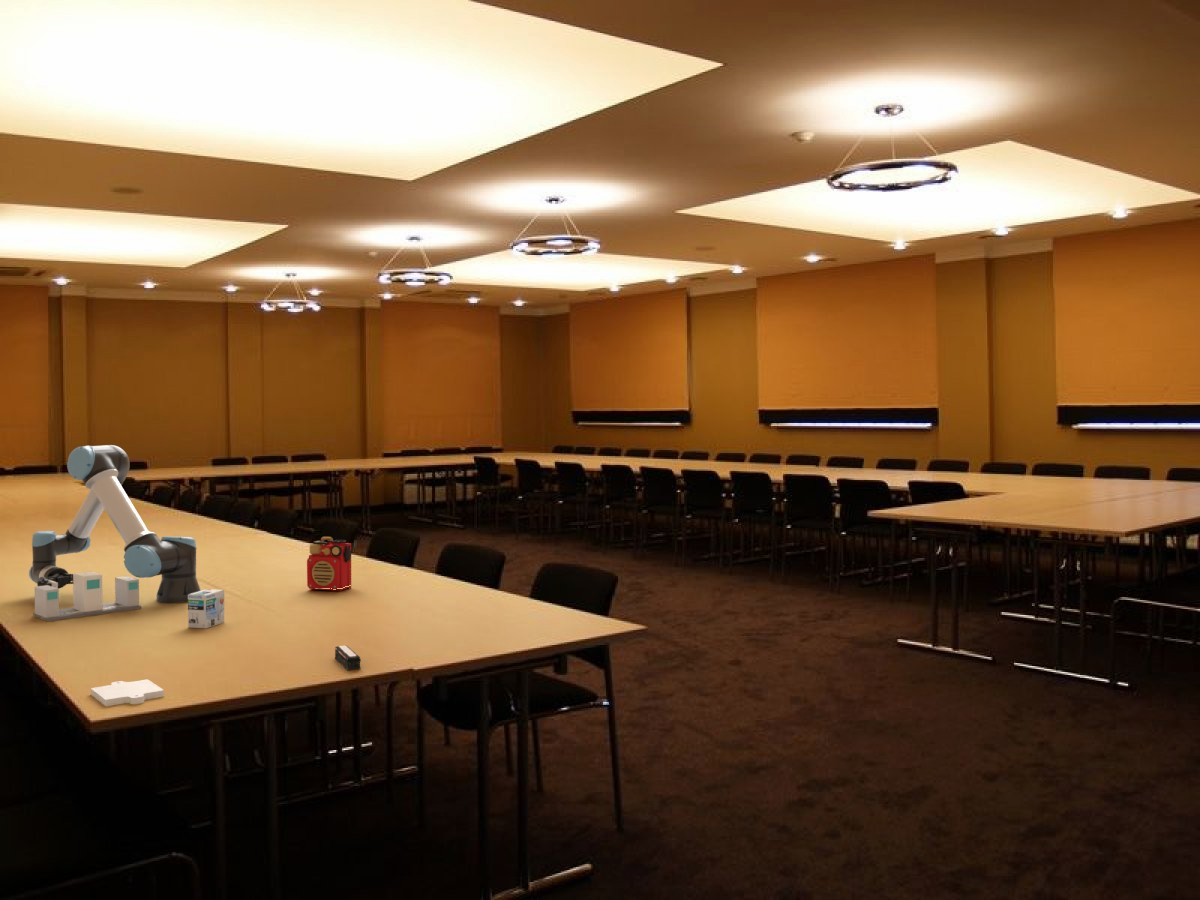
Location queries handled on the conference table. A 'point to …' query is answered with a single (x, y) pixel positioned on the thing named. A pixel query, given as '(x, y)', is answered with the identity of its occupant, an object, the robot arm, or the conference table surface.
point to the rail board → (76, 613)
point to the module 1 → (46, 601)
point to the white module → (87, 591)
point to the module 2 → (127, 591)
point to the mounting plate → (127, 692)
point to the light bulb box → (205, 608)
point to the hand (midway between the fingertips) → (77, 584)
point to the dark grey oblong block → (347, 658)
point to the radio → (329, 564)
